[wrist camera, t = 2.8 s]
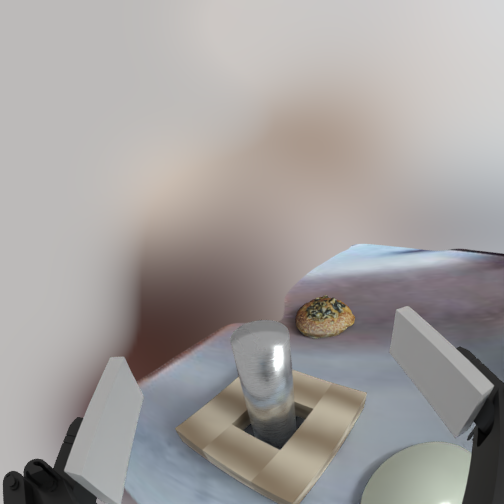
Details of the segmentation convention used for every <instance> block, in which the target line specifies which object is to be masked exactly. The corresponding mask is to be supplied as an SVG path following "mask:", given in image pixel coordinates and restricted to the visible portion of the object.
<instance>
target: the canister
mask: <svg viewBox="0 0 504 504" xmlns="http://www.w3.org/2000/svg"><path fill="white" fill-rule="evenodd" d="M231 345H232V350H233V354H234V358H235V362H236V366H237V371H238V375H239V379H240V383H241V387H242V391H243V395H244V399H245V402H246V406H247V410H248V414H249V418H250V421H251V425H252V429H253V432H254V436H255V438H257V439H259V440H261V441H263V442H265V443H267V444H269V445H271V446H273V447H275V448H277V447H282V446H284V445H285V444H286V443H287V442H288V440H289V439H290V438H291V437H292V436H293V434H294V433H295V432H296V418H295V403H294V388H293V375H292V362H291V350H290V338H289V331H288V329H287V327H286V326H285V325H283V324H282V323H279V322H277V321H272V320H258V321H253V322H249V323H246V324H244V325H242V326H240V327H239V328H237V329H236V330H235V331H234V332H233V334H232V336H231Z"/></svg>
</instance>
